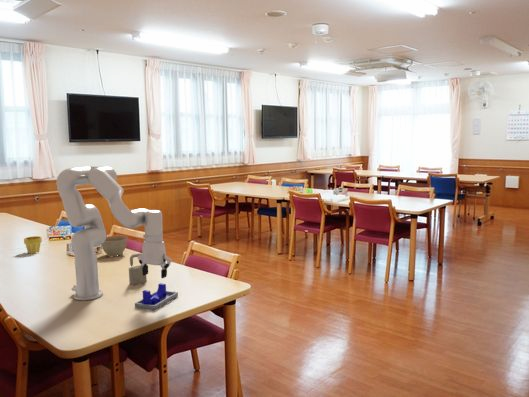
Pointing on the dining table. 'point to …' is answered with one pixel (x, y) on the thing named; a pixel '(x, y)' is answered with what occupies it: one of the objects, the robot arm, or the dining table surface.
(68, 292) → the dining table surface
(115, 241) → the planter bowl
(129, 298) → the dining table surface
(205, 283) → the dining table surface
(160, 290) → the cable clip
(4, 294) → the dining table surface
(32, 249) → the plant pot
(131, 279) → the padlock
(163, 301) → the grey rectangular tray
